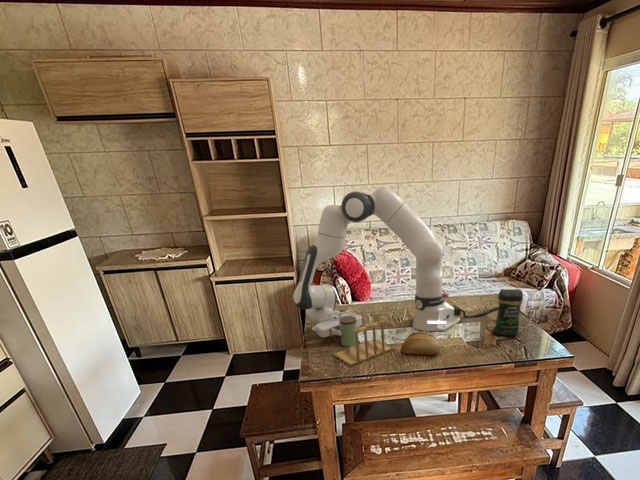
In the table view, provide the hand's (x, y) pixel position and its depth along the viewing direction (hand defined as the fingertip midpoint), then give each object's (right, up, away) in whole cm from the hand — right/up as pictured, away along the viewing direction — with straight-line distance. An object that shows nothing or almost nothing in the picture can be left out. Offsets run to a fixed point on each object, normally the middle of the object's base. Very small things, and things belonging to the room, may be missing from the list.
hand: (349, 330), depth 162 cm
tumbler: (0, -5, +4) cm, 6 cm away
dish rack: (+5, -9, -4) cm, 11 cm away
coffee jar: (+65, 0, +8) cm, 65 cm away
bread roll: (+28, -9, -6) cm, 30 cm away
